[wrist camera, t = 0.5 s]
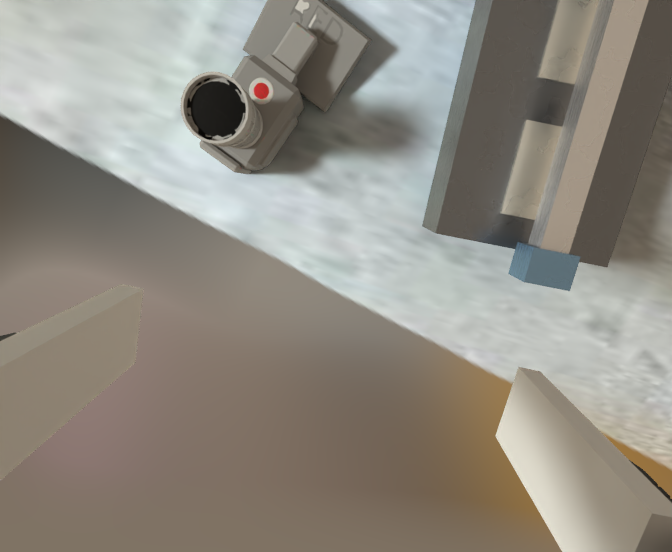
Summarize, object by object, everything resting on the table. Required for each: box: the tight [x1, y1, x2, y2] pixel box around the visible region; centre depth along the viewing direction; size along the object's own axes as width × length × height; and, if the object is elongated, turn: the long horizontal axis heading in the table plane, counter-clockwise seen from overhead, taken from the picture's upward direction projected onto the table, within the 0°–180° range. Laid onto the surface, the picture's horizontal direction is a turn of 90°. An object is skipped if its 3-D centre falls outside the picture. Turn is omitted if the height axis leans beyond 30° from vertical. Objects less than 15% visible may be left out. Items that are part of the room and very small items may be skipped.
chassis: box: [422, 0, 672, 267], centre depth 34 cm, size 22×14×6 cm, turn 169°
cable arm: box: [509, 0, 649, 291], centre depth 28 cm, size 23×3×3 cm, turn 169°
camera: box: [181, 0, 372, 174], centre depth 32 cm, size 9×12×15 cm
